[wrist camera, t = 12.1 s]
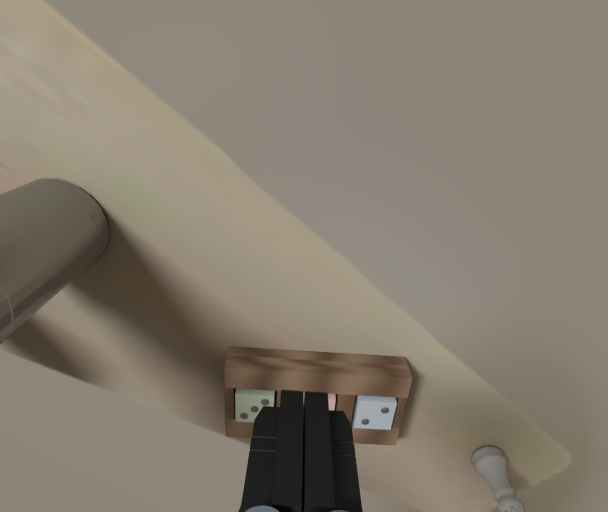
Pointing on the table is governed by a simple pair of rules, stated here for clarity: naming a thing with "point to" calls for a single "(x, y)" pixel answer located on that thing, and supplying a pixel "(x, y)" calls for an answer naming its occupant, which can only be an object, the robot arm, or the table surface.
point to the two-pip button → (373, 412)
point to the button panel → (318, 383)
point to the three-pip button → (252, 403)
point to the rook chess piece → (497, 478)
